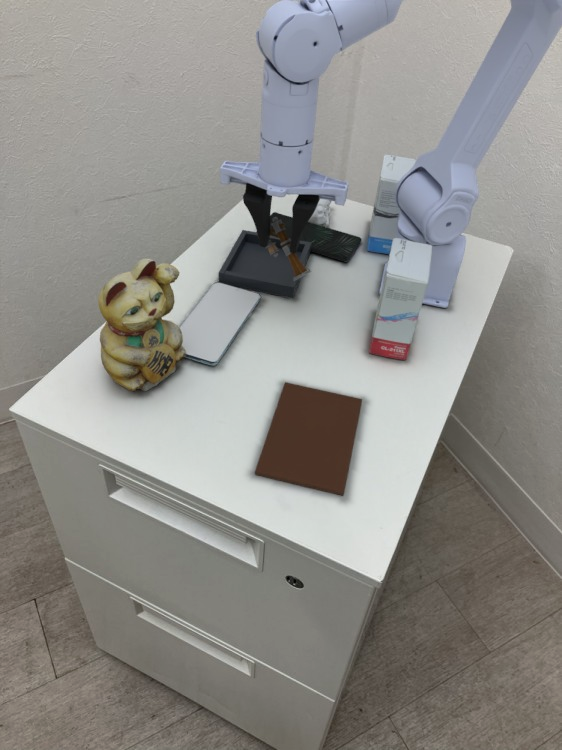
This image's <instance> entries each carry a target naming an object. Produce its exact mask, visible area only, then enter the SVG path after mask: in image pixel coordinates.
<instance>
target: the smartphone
mask: <svg viewBox="0 0 562 750" xmlns="http://www.w3.org/2000/svg"><path fill="white" fill-rule="evenodd" d="M261 298H262V295H261V293H260V292H257V291H253V290H248V289H243V288H238V287H235V286H231V285H228V284H224V283H220V282H219V281H216V282H213V283H212V285H210V287H209V289H207V291H206V292H205V294H204V295H203V296H202V297H201V299H200V300H199V301H198V302H197V304H196V305H195V306H194V308H193V309H191V311H190V312H189V314H188V315H187V316H186V317H185V319H184V320H183V321H182V322H181V324H180V325H179V328H180V329H181V332H182V335H183V343H182V346H183V347H184V348H185V350H186V355H184V356H183V357H182V358H185V359H189V360H192V361H195V362H199V363H201V364H205V365H208V366H216V365H217V364H219V362H220V360H221V359H222V358H223V356H224V355H225V353H226V351H227V350H228V348H229V347H230V345H232V343H233V341H234V339H235V338H236V336H237V335H238V333H239V332H240V330H241V329H242V327H244V325H245V323H246V321H247V320H248V319H249V317H250V315H251V314H252V313H253V311H254V310H255V308H256V306H257V305H258V303H259V302H260V300H261Z"/></svg>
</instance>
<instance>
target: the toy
mask: <svg viewBox="0 0 562 750" xmlns="http://www.w3.org/2000/svg"><path fill="white" fill-rule="evenodd" d="M331 203H332V201H330V200H325V199H320V200H319V202H318V205H317V207H316V209H315V211H314V213H313V215H312V216H311V218H310V219H309V221H308V222H310V223H313V224H317V225H320V226H324V227H327V226H329V225H330V216H329V215H330V213H331V206H330V205H331Z"/></svg>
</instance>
